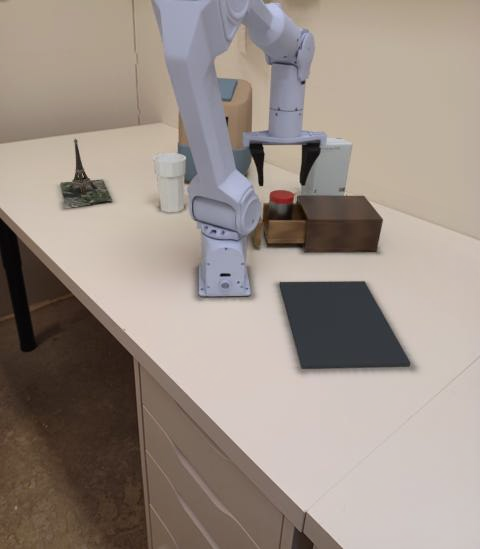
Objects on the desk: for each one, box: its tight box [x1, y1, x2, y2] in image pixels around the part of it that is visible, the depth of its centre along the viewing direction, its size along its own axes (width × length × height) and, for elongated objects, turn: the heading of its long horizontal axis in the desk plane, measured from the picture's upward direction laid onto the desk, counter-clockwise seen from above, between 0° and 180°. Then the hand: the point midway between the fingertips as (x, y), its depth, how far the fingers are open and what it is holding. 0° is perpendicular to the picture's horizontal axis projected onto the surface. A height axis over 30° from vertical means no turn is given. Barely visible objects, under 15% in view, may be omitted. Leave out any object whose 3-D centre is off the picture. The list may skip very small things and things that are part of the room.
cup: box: [152, 152, 186, 213], centre depth 100 cm, size 7×7×11 cm
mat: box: [279, 280, 411, 370], centre depth 68 cm, size 20×14×1 cm
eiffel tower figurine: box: [60, 138, 113, 209], centre depth 105 cm, size 15×10×13 cm
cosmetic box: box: [299, 137, 354, 196], centre depth 102 cm, size 8×6×15 cm
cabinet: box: [295, 194, 384, 253], centre depth 91 cm, size 14×12×7 cm
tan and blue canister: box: [177, 77, 253, 183], centre depth 115 cm, size 17×17×23 cm
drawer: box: [251, 202, 307, 247], centre depth 90 cm, size 17×10×5 cm, turn 94°
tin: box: [268, 189, 295, 223], centre depth 89 cm, size 4×4×7 cm
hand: (281, 184), depth 87 cm, fingers open, 7 cm apart
